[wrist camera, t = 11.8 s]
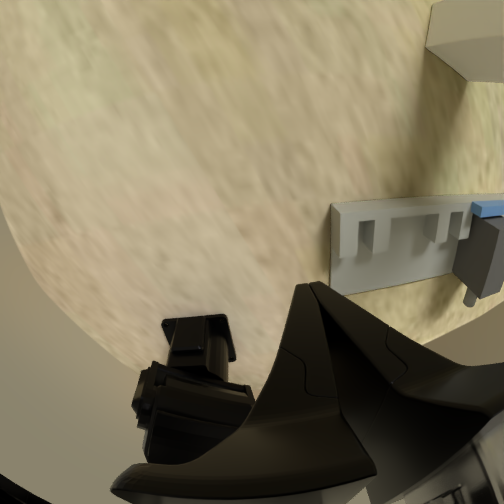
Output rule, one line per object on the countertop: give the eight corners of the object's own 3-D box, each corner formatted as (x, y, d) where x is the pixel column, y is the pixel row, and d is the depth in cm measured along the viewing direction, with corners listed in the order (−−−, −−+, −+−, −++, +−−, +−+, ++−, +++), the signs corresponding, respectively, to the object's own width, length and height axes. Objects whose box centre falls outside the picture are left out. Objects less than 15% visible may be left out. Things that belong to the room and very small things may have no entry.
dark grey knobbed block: (466, 286, 27) (491, 312, 22) (445, 293, 27) (470, 321, 22) (484, 206, 22) (518, 226, 17) (463, 207, 22) (499, 229, 17)
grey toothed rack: (493, 260, 25) (511, 275, 22) (329, 295, 26) (341, 321, 22) (507, 192, 21) (529, 203, 18) (330, 202, 21) (347, 219, 18)
